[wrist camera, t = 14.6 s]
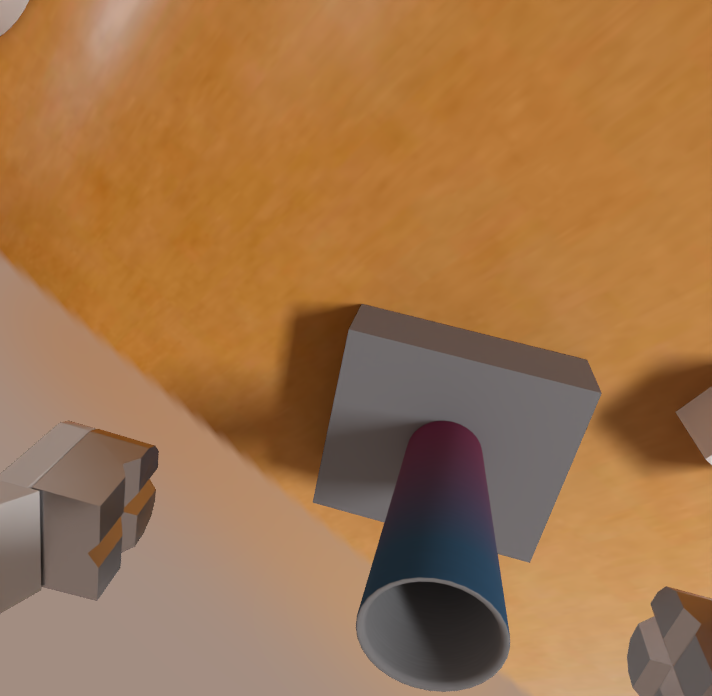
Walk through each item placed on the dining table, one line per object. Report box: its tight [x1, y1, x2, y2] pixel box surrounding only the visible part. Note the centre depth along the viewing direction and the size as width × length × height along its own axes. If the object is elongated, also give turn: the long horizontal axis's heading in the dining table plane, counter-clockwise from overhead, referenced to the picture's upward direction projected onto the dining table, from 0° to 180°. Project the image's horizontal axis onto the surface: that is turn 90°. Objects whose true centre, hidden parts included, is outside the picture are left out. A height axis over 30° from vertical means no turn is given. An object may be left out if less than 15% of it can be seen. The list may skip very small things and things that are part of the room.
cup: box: [356, 421, 510, 692], centre depth 33 cm, size 7×7×15 cm
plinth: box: [313, 304, 601, 563], centre depth 42 cm, size 16×14×5 cm
